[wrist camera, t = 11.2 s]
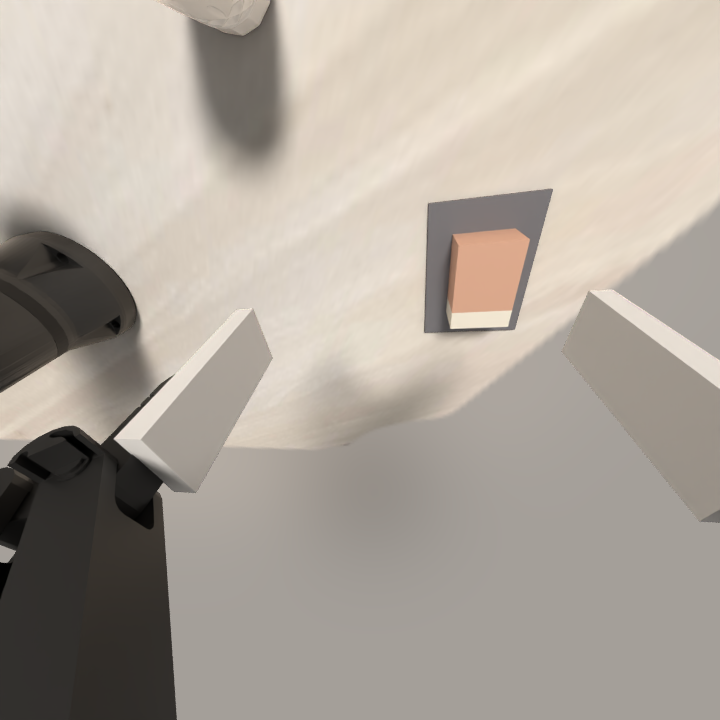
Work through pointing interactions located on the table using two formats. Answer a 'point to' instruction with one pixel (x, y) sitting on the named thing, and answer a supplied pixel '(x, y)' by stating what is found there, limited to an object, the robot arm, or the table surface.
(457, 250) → the flat block
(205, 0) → the white cup
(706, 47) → the table surface
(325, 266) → the table surface
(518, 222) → the mat
